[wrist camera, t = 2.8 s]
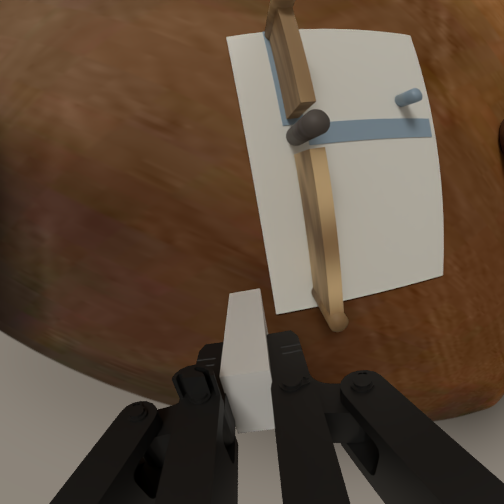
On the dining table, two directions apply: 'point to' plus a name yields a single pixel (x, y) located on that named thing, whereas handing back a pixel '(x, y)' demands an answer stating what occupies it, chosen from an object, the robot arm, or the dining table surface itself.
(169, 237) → the dining table surface
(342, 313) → the fence panel
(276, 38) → the fence fixed
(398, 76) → the card
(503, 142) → the wooden figurine
